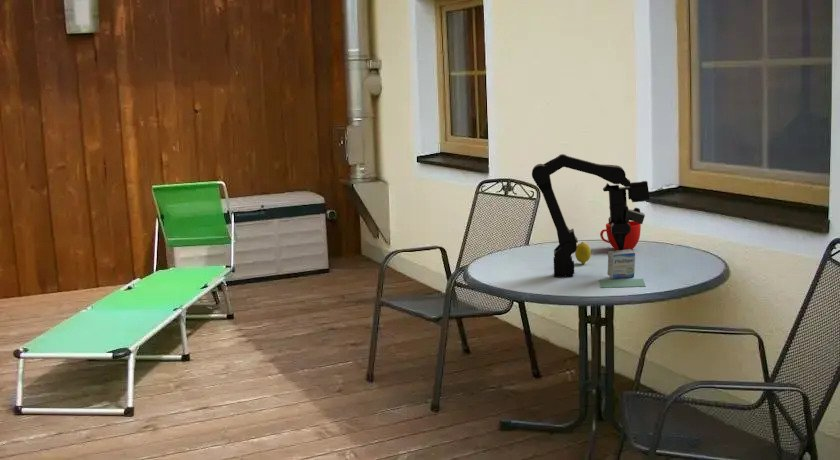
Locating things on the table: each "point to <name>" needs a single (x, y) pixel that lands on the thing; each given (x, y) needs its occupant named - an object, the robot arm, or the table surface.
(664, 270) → the table surface
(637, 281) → the mat
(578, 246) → the lemon
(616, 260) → the medicine box
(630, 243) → the ceramic cup
